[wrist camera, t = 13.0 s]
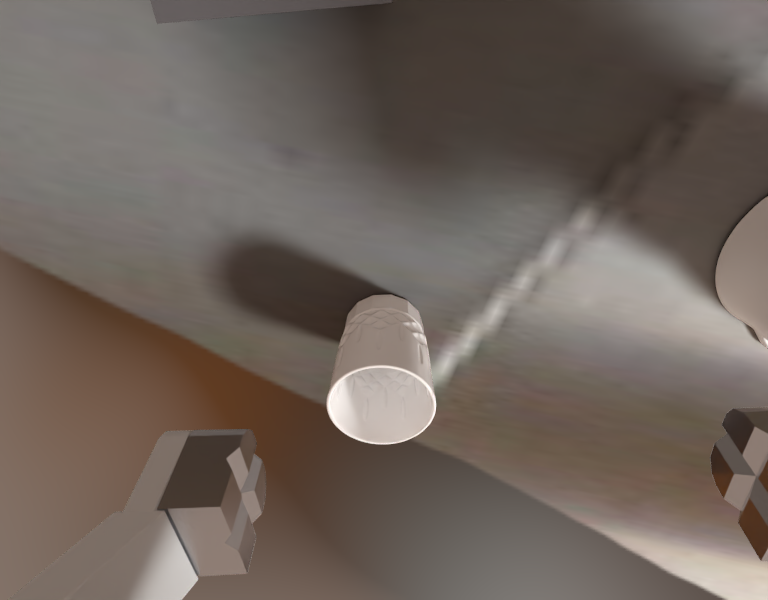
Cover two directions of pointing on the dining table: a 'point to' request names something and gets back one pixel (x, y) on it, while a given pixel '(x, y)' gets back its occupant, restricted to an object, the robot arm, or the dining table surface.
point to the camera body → (241, 7)
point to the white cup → (382, 373)
